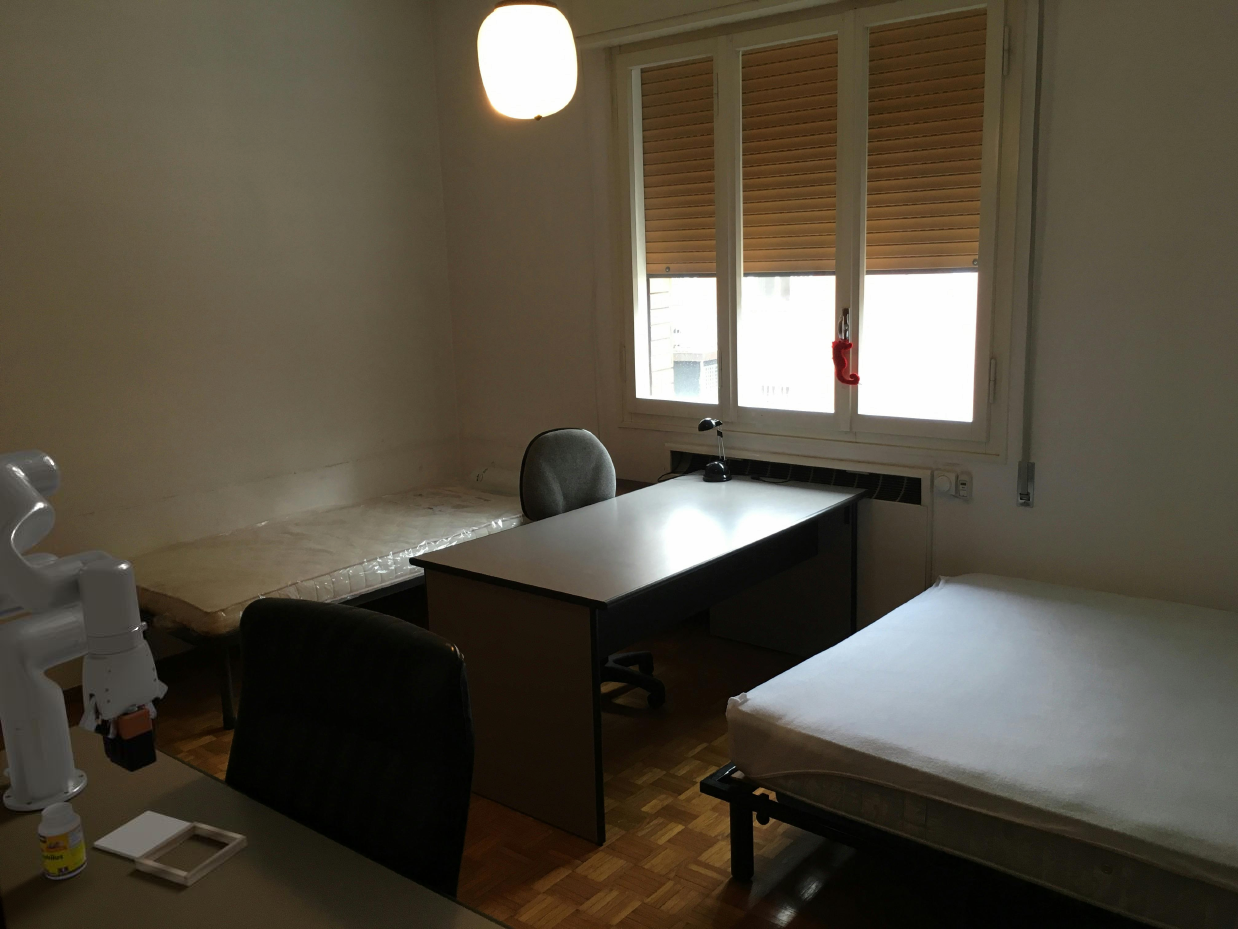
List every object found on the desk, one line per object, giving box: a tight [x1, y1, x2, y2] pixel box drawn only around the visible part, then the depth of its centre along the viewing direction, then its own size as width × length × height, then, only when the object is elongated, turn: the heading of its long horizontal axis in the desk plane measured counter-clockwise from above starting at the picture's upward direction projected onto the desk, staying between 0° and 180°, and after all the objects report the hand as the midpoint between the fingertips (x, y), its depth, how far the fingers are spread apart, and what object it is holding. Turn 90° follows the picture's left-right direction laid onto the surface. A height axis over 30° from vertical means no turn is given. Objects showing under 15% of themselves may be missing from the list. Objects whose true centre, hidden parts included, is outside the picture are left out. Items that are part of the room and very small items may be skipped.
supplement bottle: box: [37, 801, 88, 881], centre depth 145 cm, size 6×6×10 cm
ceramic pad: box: [93, 810, 192, 861], centre depth 154 cm, size 10×10×1 cm
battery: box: [107, 704, 158, 773], centre depth 150 cm, size 4×7×10 cm, turn 54°
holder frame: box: [134, 821, 248, 887], centre depth 148 cm, size 11×11×2 cm
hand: (131, 748), depth 151 cm, fingers closed on battery, 5 cm apart
